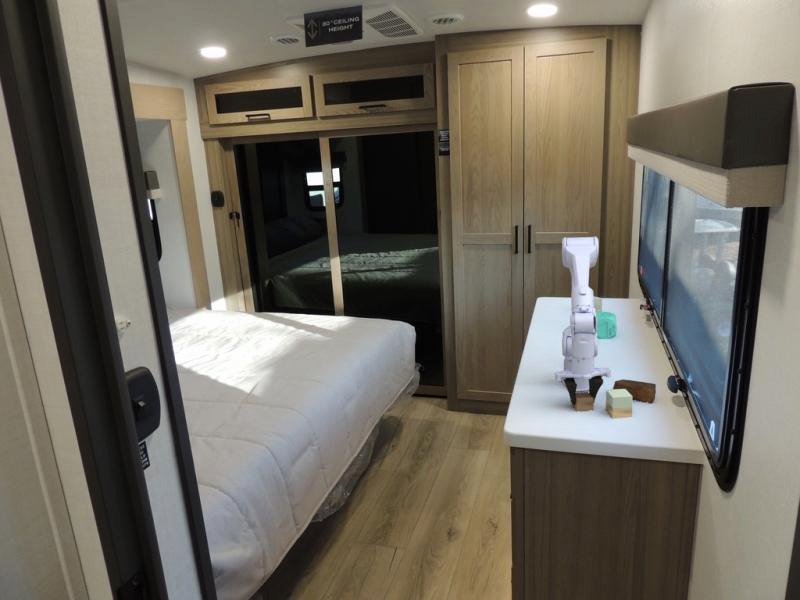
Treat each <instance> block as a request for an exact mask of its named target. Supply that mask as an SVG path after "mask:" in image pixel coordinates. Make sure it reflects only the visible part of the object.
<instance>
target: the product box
mask: <svg viewBox="0 0 800 600" xmlns="http://www.w3.org/2000/svg"><path fill="white" fill-rule="evenodd" d="M593 296H594V295H593ZM594 308H595V312H603V298H602V297H598V296H594Z"/></svg>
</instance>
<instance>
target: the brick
mask: <svg viewBox="0 0 800 600" xmlns="http://www.w3.org/2000/svg"><path fill="white" fill-rule="evenodd" d="M656 387H657V386H656V383H653V382H645V381H639V380H633V379H631V380H630V379H624V378H623V379H620V380H614V384H613V387H612V390H614V389H626V390H627V391H628V392H629V393H630V394H631V395H632V396H633V397H632V401H634V400H636V402H640V401H641V403H646V402H648V403H647V404H653V403H654V401H656V395H657V394H656V393H657V390H656V389H657V388H656Z"/></svg>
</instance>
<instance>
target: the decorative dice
mask: <svg viewBox="0 0 800 600" xmlns="http://www.w3.org/2000/svg"><path fill="white" fill-rule="evenodd" d="M596 316H597V331H596V332H597V339H600V340H601V339H602V340H608V339H612V338H614V337H616V335H617V326H618V325H617V316H616V314H615V313H613V312H610V311H609V312H608V311H602V312H596ZM593 329H594V327H593Z"/></svg>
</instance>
